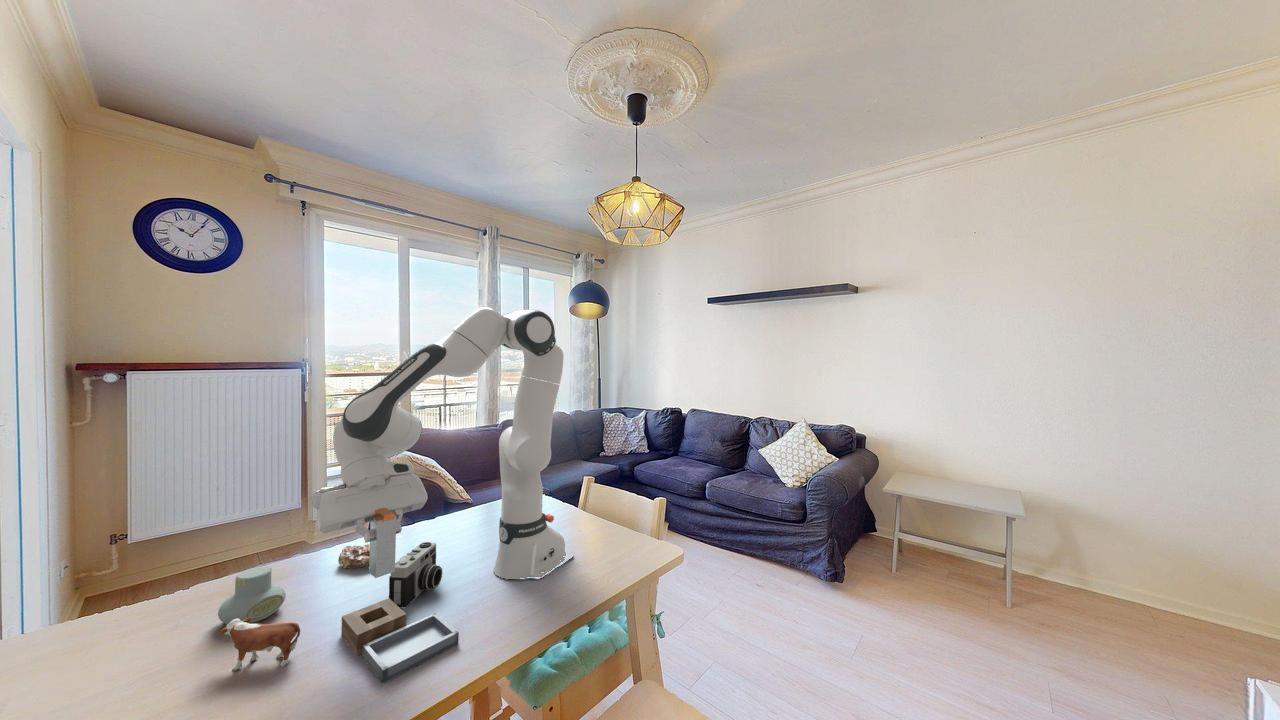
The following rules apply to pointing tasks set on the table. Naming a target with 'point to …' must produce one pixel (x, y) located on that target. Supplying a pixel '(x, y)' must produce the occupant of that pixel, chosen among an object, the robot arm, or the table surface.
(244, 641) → the bull figurine
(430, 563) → the camera
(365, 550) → the mineral specimen
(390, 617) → the hitch block
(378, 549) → the orange-topped grey block
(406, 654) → the tray
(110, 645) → the table surface
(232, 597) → the air freshener
